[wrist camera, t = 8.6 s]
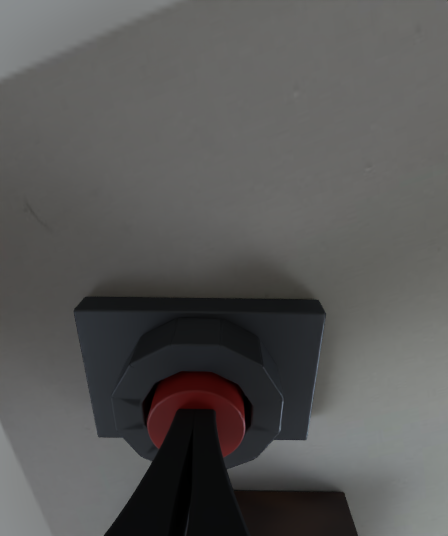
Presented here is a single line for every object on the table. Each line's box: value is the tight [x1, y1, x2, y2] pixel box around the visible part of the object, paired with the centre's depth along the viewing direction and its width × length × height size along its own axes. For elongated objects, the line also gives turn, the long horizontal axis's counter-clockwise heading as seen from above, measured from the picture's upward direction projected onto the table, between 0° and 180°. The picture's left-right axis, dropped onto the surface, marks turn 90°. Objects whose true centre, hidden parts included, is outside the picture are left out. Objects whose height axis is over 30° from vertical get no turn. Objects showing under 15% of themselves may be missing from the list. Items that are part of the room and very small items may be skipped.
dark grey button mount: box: [74, 297, 326, 469], centre depth 14 cm, size 10×7×3 cm
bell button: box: [147, 371, 245, 457], centre depth 12 cm, size 4×4×2 cm
